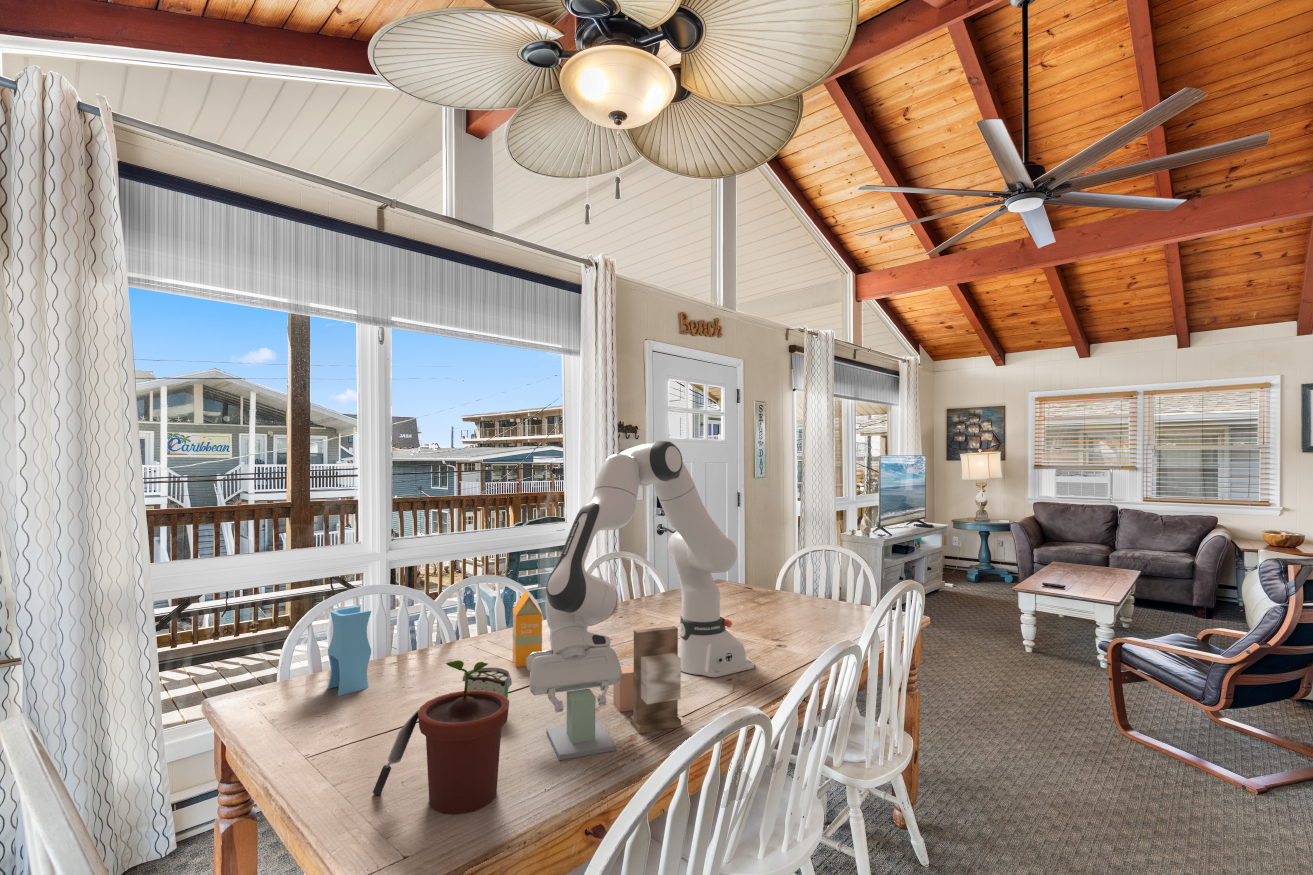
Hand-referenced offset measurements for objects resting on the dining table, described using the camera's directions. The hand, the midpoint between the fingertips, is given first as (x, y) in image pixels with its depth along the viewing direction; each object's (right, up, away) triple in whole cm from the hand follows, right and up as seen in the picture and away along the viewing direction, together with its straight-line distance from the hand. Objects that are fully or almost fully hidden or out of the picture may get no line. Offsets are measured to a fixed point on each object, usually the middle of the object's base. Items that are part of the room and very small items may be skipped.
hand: (581, 707), depth 133 cm
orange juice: (-22, -9, +52) cm, 57 cm away
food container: (-23, -8, +14) cm, 28 cm away
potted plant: (-21, -7, -20) cm, 30 cm away
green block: (0, -6, +1) cm, 6 cm away
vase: (-64, -8, +30) cm, 72 cm away
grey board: (0, -7, 0) cm, 7 cm away
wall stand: (+16, -8, +9) cm, 20 cm away
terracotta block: (+9, -8, +19) cm, 22 cm away
